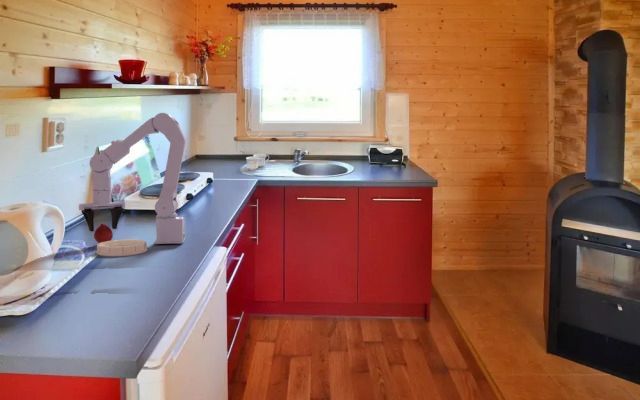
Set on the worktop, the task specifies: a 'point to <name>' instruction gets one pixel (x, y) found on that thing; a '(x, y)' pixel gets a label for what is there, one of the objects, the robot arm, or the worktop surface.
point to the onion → (103, 233)
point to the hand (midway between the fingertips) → (103, 229)
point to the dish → (121, 247)
